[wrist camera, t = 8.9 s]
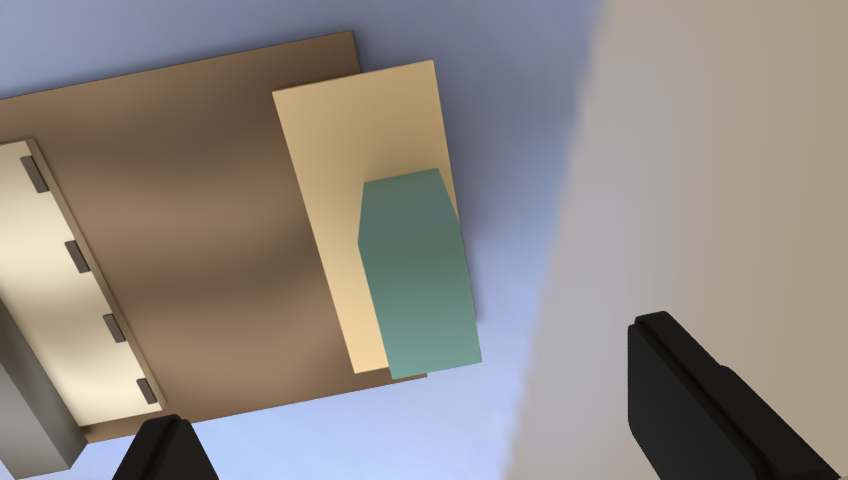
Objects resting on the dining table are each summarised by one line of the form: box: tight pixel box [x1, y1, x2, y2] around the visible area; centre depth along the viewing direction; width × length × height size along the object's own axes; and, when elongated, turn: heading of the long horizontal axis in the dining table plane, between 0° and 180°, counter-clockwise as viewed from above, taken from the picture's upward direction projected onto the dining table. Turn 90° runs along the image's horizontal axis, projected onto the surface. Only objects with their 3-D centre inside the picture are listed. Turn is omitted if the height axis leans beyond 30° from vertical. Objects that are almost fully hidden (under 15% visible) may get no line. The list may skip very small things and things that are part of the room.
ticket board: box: [0, 30, 427, 480], centre depth 21 cm, size 16×21×4 cm
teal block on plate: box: [272, 60, 482, 380], centre depth 18 cm, size 13×6×6 cm, turn 10°
